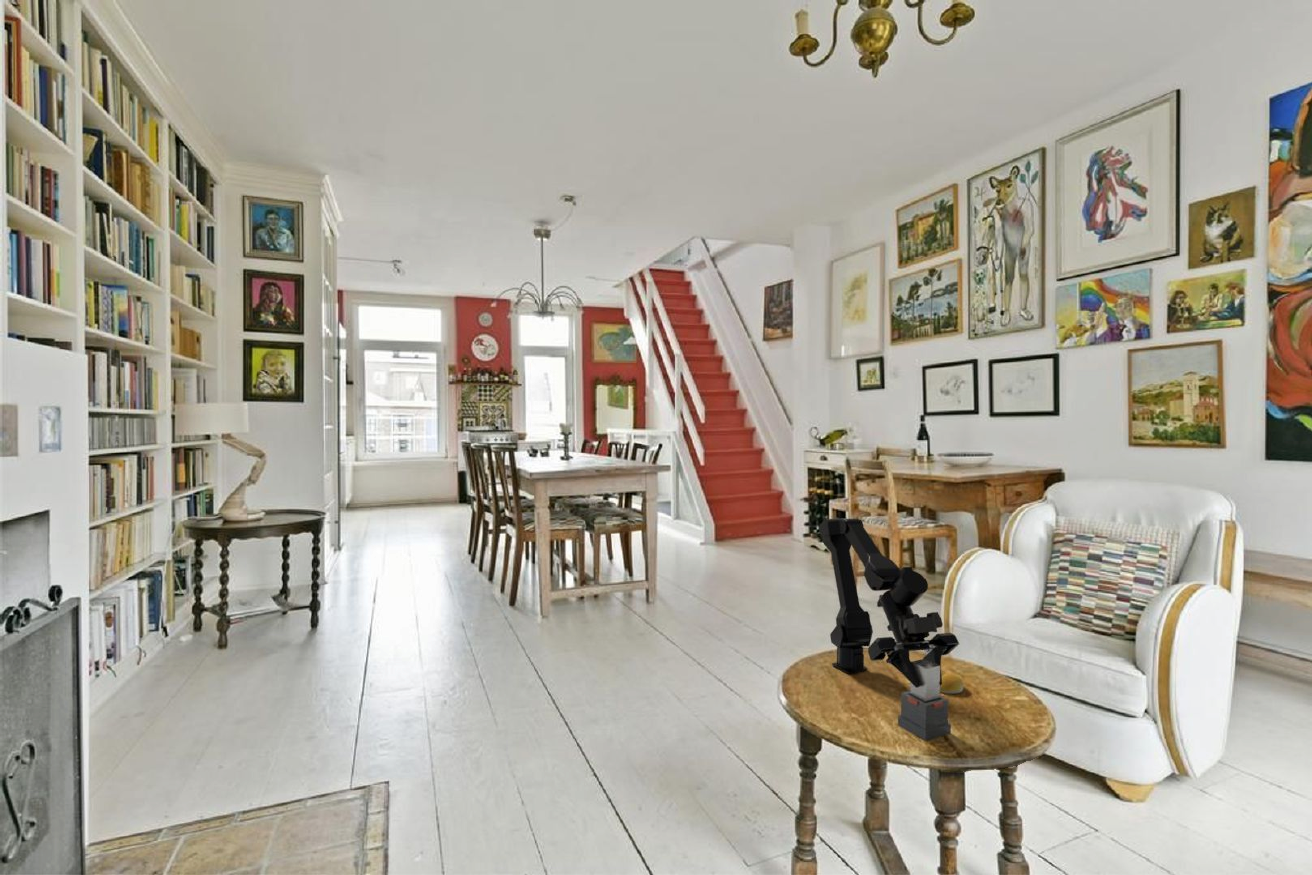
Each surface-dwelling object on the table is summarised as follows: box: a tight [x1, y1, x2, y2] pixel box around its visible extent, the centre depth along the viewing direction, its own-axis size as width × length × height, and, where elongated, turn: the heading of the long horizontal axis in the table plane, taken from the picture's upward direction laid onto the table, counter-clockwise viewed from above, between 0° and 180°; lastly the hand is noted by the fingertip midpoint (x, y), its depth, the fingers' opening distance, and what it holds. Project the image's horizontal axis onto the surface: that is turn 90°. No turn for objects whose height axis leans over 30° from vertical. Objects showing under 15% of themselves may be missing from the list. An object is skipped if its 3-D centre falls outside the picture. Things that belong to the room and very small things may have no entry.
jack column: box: [909, 658, 941, 703], centre depth 132 cm, size 4×4×11 cm
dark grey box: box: [897, 690, 952, 742], centre depth 132 cm, size 7×7×7 cm
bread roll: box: [940, 669, 964, 695], centre depth 153 cm, size 8×9×4 cm
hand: (929, 686), depth 131 cm, fingers closed on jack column, 5 cm apart
